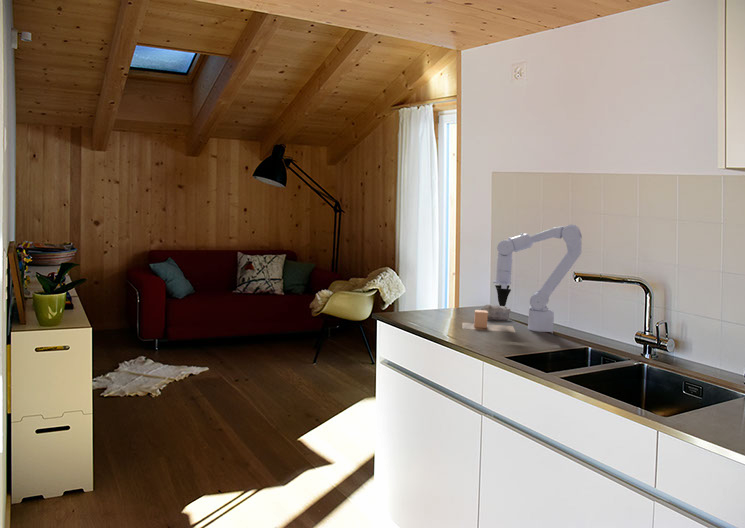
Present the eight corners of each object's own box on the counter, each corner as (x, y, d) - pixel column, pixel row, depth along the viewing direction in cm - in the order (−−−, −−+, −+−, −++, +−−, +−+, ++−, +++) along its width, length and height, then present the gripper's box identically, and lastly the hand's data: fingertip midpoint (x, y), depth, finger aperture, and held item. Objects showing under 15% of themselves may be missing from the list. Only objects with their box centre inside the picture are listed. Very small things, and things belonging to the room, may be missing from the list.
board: (513, 328, 255) (513, 317, 254) (515, 335, 243) (516, 323, 243) (462, 325, 258) (462, 314, 257) (462, 331, 246) (462, 319, 245)
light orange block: (486, 325, 254) (487, 310, 253) (486, 327, 249) (487, 312, 248) (474, 324, 254) (474, 309, 254) (474, 327, 250) (475, 311, 249)
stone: (511, 322, 268) (512, 306, 267) (484, 322, 265) (485, 306, 264) (503, 319, 275) (504, 303, 275) (477, 319, 273) (478, 303, 272)
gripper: (492, 267, 261) (490, 300, 262) (494, 271, 247) (492, 306, 248) (510, 268, 260) (508, 302, 261) (513, 273, 246) (510, 308, 247)
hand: (501, 304), depth 255 cm, fingers open, 7 cm apart
